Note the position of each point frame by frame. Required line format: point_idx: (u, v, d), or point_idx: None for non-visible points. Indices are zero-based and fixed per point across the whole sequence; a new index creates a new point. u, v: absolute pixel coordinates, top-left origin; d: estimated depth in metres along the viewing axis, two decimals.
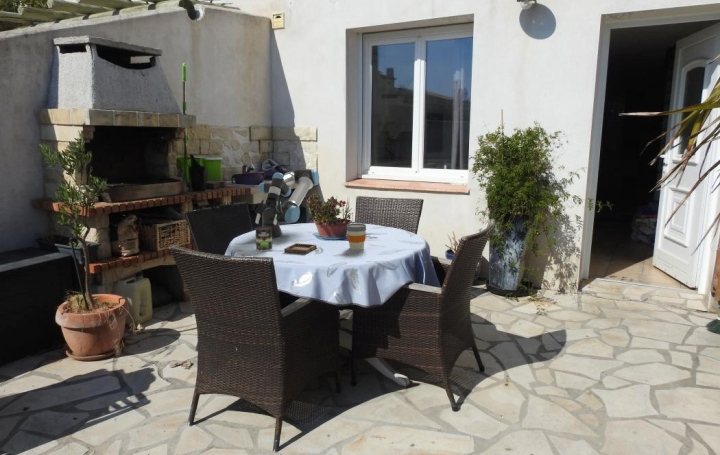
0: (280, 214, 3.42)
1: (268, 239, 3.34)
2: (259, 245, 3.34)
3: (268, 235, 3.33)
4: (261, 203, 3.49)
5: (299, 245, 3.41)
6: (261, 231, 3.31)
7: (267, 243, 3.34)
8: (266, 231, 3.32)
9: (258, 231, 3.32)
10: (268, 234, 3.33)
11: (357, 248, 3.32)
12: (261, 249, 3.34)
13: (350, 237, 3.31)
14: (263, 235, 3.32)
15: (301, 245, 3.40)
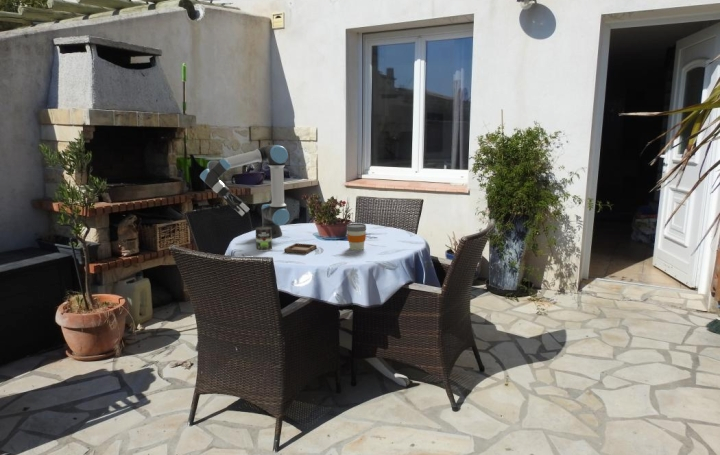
0: (234, 207, 3.27)
1: (268, 239, 3.34)
2: (259, 245, 3.34)
3: (268, 235, 3.33)
4: None
5: (299, 245, 3.41)
6: (261, 231, 3.31)
7: (267, 243, 3.34)
8: (266, 231, 3.32)
9: (258, 231, 3.32)
10: (268, 234, 3.33)
11: (357, 248, 3.32)
12: (261, 249, 3.34)
13: (350, 237, 3.31)
14: (263, 235, 3.32)
15: (301, 245, 3.40)
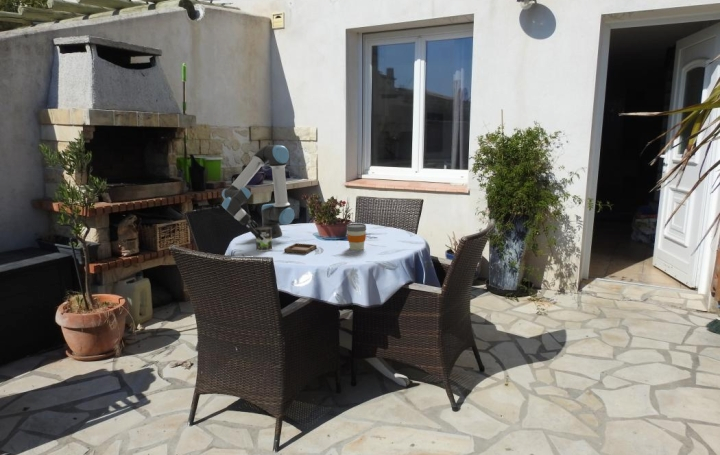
0: (258, 236, 3.29)
1: (268, 239, 3.34)
2: (259, 245, 3.34)
3: (268, 235, 3.33)
4: None
5: (299, 245, 3.41)
6: (261, 231, 3.31)
7: None
8: (266, 231, 3.32)
9: (258, 231, 3.32)
10: (268, 234, 3.33)
11: (357, 248, 3.32)
12: (261, 249, 3.34)
13: (350, 237, 3.31)
14: (263, 235, 3.32)
15: (301, 245, 3.40)
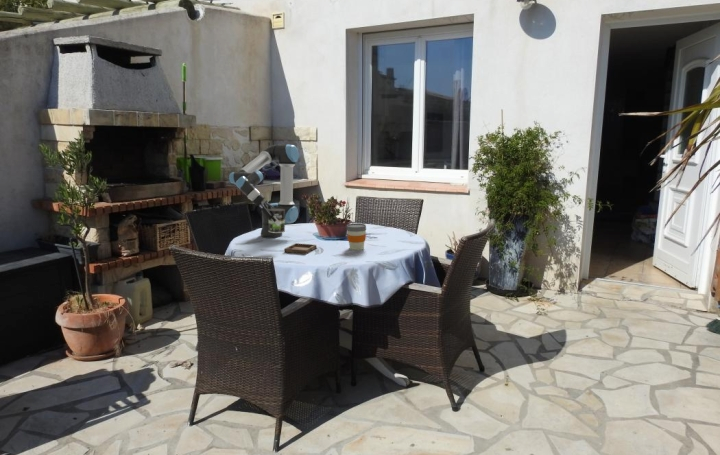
0: (270, 217, 3.21)
1: (281, 221, 3.26)
2: (271, 227, 3.26)
3: (281, 217, 3.26)
4: None
5: (299, 245, 3.41)
6: (274, 212, 3.23)
7: None
8: (279, 213, 3.24)
9: (271, 212, 3.24)
10: (281, 216, 3.25)
11: (357, 248, 3.32)
12: (273, 231, 3.26)
13: (350, 237, 3.31)
14: (276, 217, 3.24)
15: (301, 245, 3.40)
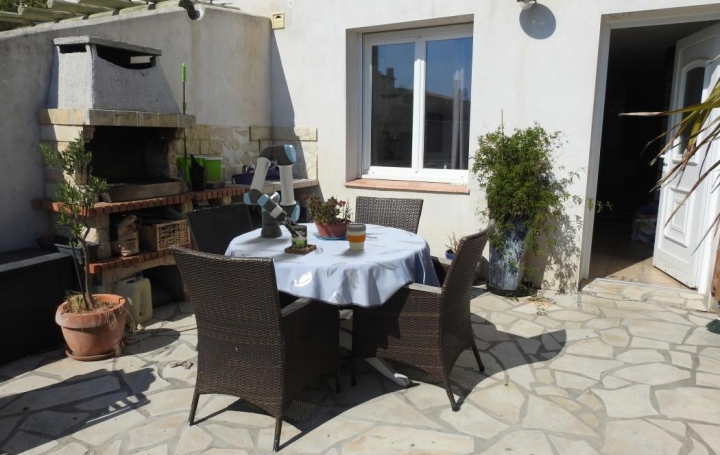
0: (293, 232, 3.22)
1: (304, 238, 3.30)
2: (295, 244, 3.30)
3: (304, 234, 3.30)
4: None
5: None
6: (297, 230, 3.27)
7: (303, 241, 3.30)
8: (302, 230, 3.28)
9: None
10: (304, 233, 3.29)
11: (357, 248, 3.32)
12: (297, 248, 3.30)
13: (350, 237, 3.31)
14: None
15: None
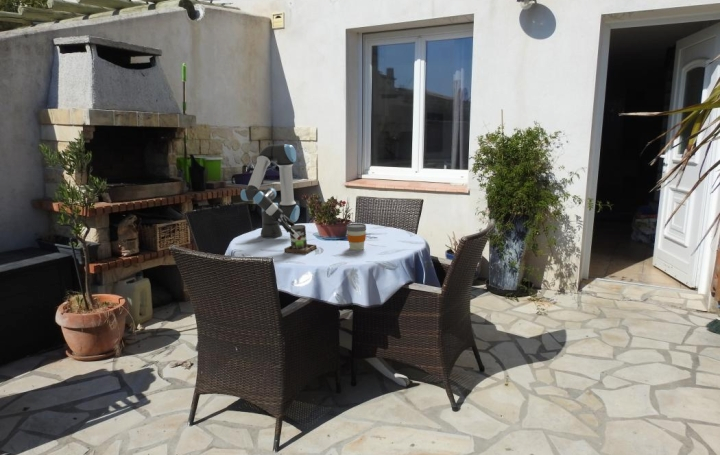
0: (289, 230, 3.21)
1: (303, 238, 3.30)
2: (294, 244, 3.30)
3: (303, 234, 3.29)
4: None
5: None
6: (296, 230, 3.27)
7: (302, 241, 3.30)
8: (301, 230, 3.28)
9: None
10: (303, 233, 3.29)
11: (357, 248, 3.32)
12: (297, 248, 3.30)
13: (350, 237, 3.31)
14: (298, 234, 3.28)
15: None
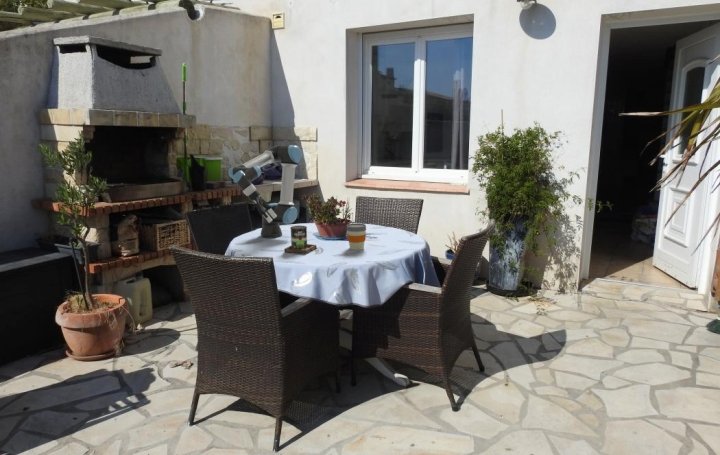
0: (262, 213, 3.23)
1: (304, 238, 3.30)
2: (295, 244, 3.30)
3: (304, 234, 3.30)
4: None
5: None
6: (297, 230, 3.28)
7: (303, 242, 3.30)
8: (302, 230, 3.29)
9: (294, 230, 3.28)
10: (304, 233, 3.30)
11: (357, 248, 3.32)
12: (297, 248, 3.30)
13: (350, 237, 3.31)
14: (299, 234, 3.28)
15: None
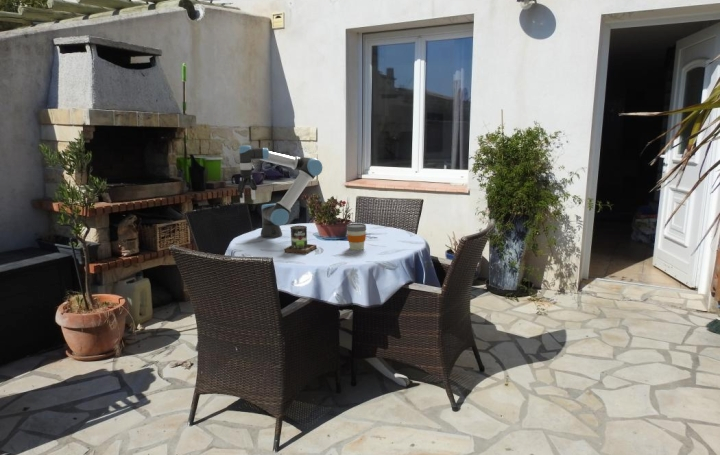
0: (239, 192, 3.40)
1: (304, 238, 3.30)
2: (295, 244, 3.30)
3: (304, 234, 3.30)
4: (250, 179, 3.54)
5: None
6: (297, 230, 3.28)
7: (303, 242, 3.30)
8: (302, 230, 3.29)
9: (294, 230, 3.28)
10: (304, 233, 3.30)
11: (357, 248, 3.32)
12: (297, 248, 3.30)
13: (350, 237, 3.31)
14: (299, 234, 3.28)
15: None
